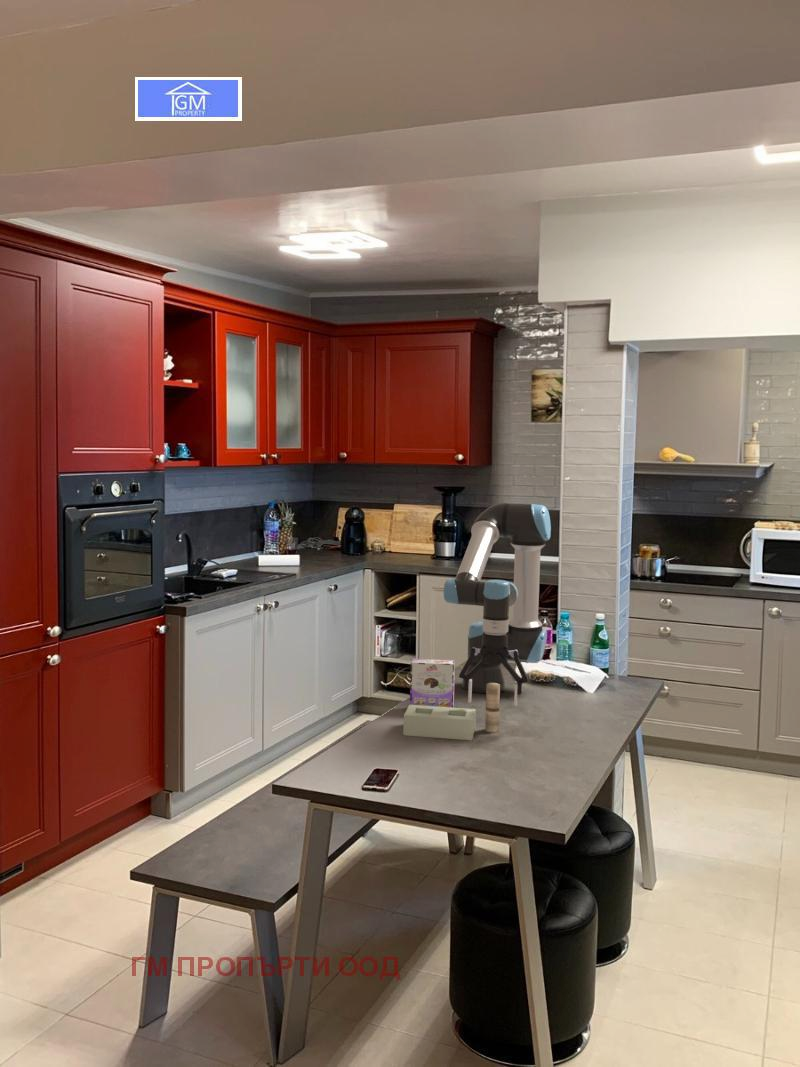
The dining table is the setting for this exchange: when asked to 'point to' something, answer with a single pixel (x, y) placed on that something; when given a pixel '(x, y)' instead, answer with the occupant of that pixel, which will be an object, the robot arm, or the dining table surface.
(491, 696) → the dowel
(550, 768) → the dining table surface
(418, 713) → the pale green holed block
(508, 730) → the dining table surface
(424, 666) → the candy box
